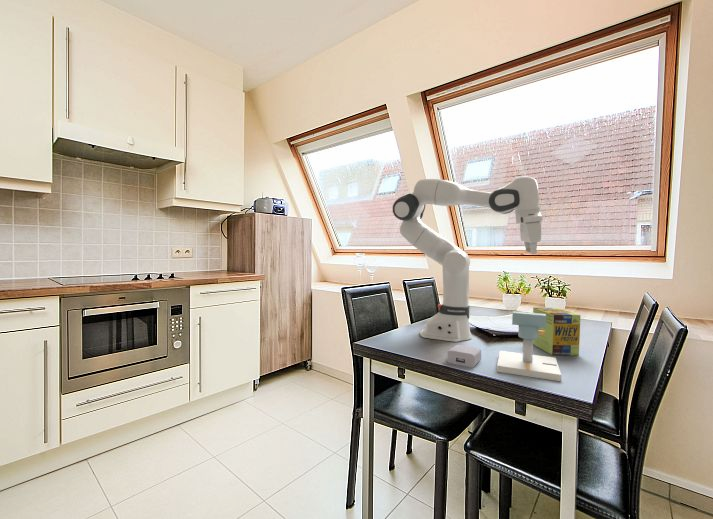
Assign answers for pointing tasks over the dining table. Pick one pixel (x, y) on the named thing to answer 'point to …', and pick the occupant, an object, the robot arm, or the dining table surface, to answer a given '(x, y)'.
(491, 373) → the dining table surface
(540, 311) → the protein box
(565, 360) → the dining table surface
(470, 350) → the charger
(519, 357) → the post base
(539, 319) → the coupling
